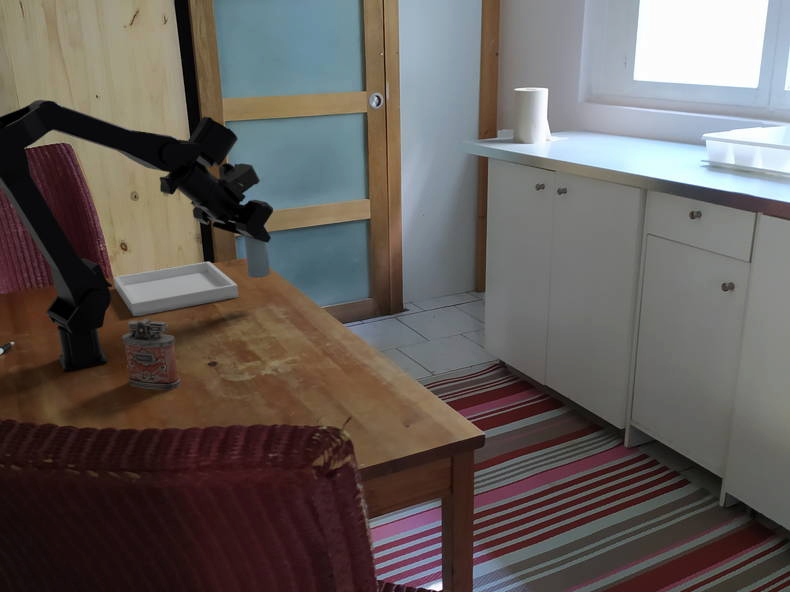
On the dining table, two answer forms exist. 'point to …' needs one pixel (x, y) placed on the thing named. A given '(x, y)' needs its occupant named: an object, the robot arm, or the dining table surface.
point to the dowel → (257, 257)
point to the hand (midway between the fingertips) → (262, 238)
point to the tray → (174, 288)
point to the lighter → (151, 356)
